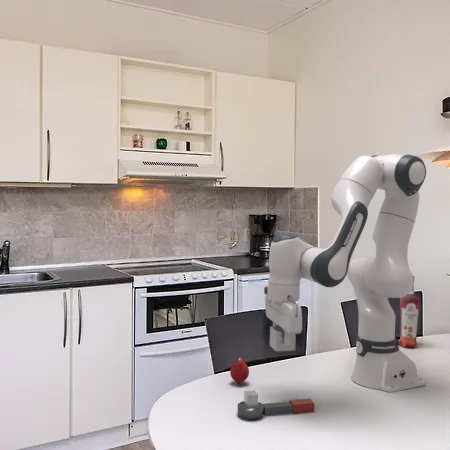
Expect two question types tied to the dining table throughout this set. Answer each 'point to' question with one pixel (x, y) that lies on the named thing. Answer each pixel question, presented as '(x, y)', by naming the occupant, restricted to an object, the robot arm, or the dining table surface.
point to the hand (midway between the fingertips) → (282, 341)
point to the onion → (239, 371)
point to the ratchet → (270, 407)
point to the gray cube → (280, 339)
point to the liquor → (409, 318)
